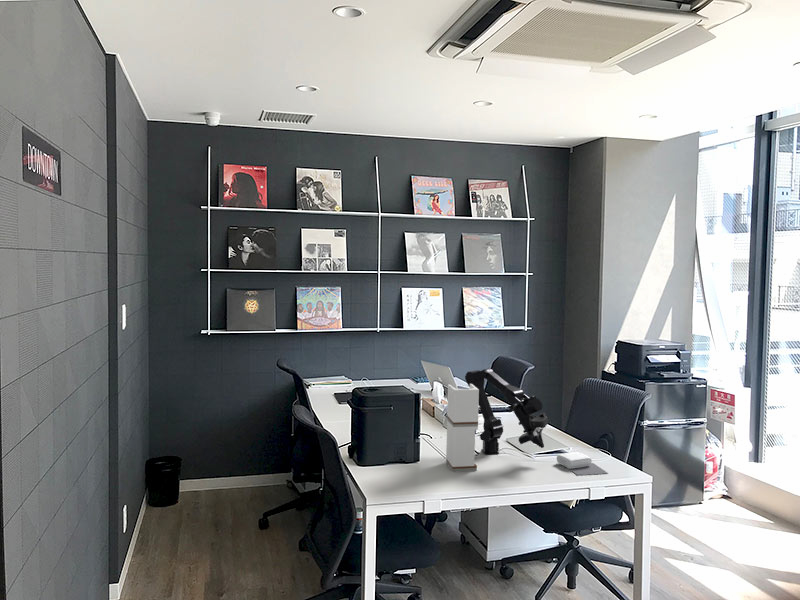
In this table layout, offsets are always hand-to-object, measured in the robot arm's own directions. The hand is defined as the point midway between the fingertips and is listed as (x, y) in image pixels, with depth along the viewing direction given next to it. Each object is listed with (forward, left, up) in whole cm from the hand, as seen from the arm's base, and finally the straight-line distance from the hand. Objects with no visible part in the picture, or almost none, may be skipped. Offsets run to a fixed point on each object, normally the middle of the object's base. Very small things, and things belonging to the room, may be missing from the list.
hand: (543, 447), depth 295 cm
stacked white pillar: (-37, +2, -8) cm, 37 cm away
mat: (+15, -10, -7) cm, 20 cm away
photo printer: (+7, -5, -5) cm, 10 cm away
